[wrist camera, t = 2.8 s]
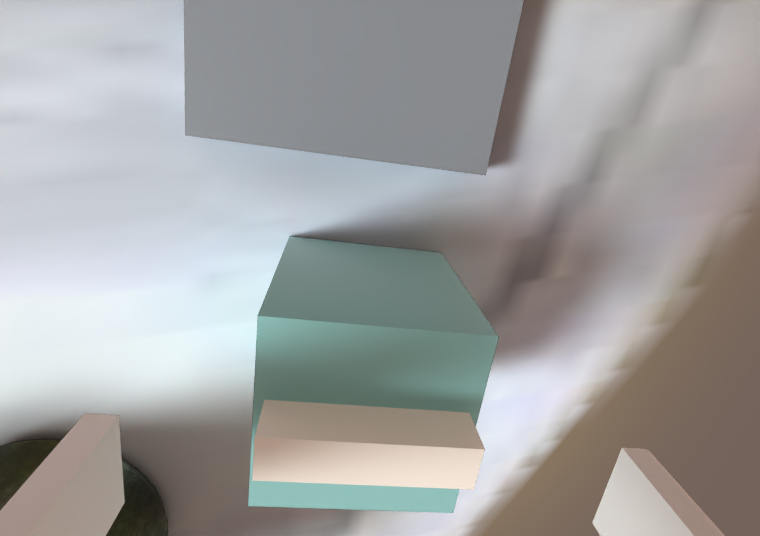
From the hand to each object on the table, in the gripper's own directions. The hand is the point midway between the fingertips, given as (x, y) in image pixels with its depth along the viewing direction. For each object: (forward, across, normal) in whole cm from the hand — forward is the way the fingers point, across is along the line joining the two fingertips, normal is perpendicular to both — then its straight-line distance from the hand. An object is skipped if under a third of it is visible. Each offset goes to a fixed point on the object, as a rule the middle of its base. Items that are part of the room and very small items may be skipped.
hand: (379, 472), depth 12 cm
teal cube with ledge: (+9, 0, 0) cm, 9 cm away
